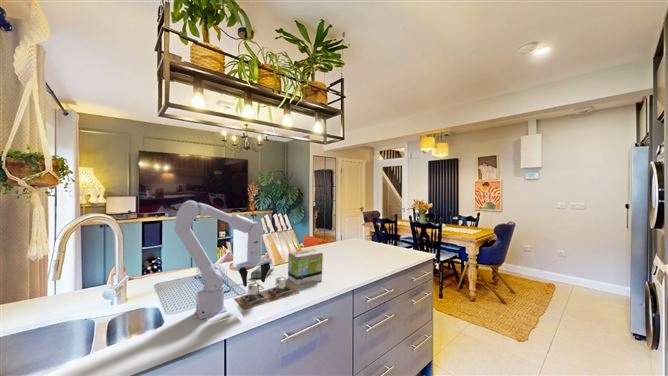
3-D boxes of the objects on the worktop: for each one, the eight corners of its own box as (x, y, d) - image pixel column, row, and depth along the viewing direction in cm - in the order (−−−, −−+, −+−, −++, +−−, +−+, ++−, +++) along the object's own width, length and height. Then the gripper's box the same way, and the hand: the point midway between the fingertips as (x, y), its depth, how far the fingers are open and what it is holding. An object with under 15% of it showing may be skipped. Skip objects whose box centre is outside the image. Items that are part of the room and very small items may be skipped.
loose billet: (249, 302, 103) (249, 287, 103) (246, 298, 107) (247, 284, 107) (260, 299, 105) (260, 285, 105) (257, 295, 109) (257, 281, 109)
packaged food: (274, 273, 141) (274, 264, 141) (265, 281, 130) (265, 272, 129) (259, 272, 142) (259, 264, 142) (249, 280, 131) (249, 271, 131)
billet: (278, 295, 110) (278, 281, 110) (273, 291, 113) (273, 278, 113) (287, 292, 113) (287, 279, 113) (282, 289, 116) (282, 276, 116)
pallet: (243, 313, 97) (243, 306, 97) (233, 302, 106) (233, 295, 106) (300, 296, 112) (300, 290, 112) (287, 287, 122) (287, 282, 122)
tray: (238, 298, 109) (238, 295, 109) (229, 289, 119) (229, 286, 119) (264, 291, 117) (264, 288, 117) (254, 283, 126) (254, 280, 126)
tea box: (297, 287, 122) (297, 257, 122) (287, 281, 130) (287, 252, 129) (322, 280, 131) (323, 252, 131) (311, 275, 139) (312, 248, 139)
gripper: (240, 256, 98) (239, 291, 98) (275, 250, 107) (274, 282, 107) (234, 252, 103) (233, 285, 103) (267, 247, 112) (267, 277, 112)
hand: (254, 283), depth 105 cm, fingers open, 7 cm apart
